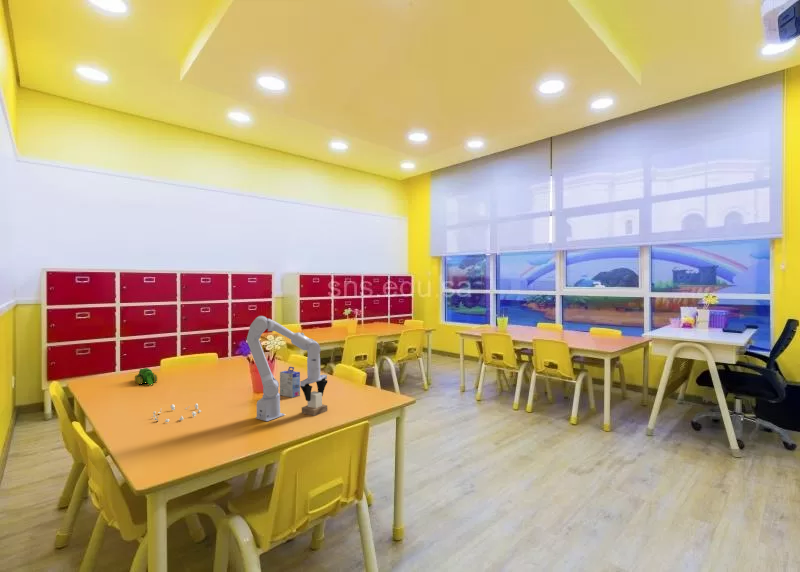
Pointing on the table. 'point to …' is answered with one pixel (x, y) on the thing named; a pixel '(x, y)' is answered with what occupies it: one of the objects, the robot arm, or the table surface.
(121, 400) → the table surface
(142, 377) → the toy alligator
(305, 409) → the walnut base
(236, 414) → the table surface
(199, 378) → the table surface
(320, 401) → the offwhite block
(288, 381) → the ink cartridge box
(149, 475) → the table surface
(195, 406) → the game piece set
